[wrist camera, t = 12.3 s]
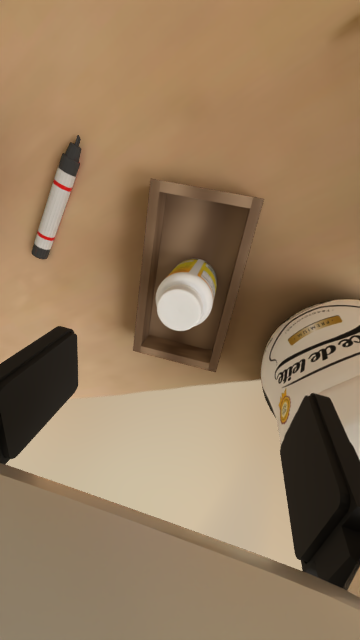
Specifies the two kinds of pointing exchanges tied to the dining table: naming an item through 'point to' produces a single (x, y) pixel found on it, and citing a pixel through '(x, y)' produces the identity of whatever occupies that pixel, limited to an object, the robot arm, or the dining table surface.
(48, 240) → the marker
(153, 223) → the brown wooden tray
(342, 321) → the milk container
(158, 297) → the supplement bottle
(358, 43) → the dining table surface
